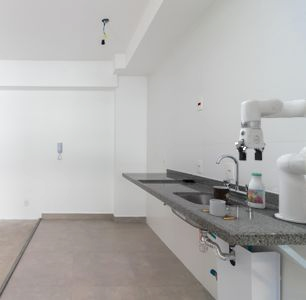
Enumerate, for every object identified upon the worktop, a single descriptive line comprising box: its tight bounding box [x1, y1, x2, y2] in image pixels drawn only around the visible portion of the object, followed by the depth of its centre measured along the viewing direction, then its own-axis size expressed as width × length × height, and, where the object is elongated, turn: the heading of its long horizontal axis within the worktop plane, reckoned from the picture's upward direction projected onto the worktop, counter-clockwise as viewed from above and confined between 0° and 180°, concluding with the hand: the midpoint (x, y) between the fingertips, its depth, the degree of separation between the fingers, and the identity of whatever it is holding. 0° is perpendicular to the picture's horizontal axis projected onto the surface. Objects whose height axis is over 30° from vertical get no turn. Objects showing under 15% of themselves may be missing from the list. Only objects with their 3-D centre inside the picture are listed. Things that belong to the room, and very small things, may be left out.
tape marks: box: [201, 209, 236, 220], centre depth 107 cm, size 6×14×1 cm, turn 13°
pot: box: [209, 198, 227, 217], centre depth 107 cm, size 7×7×7 cm
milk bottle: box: [247, 172, 266, 209], centre depth 122 cm, size 8×8×20 cm
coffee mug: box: [212, 185, 231, 205], centre depth 130 cm, size 12×9×10 cm
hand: (250, 160), depth 102 cm, fingers open, 9 cm apart
